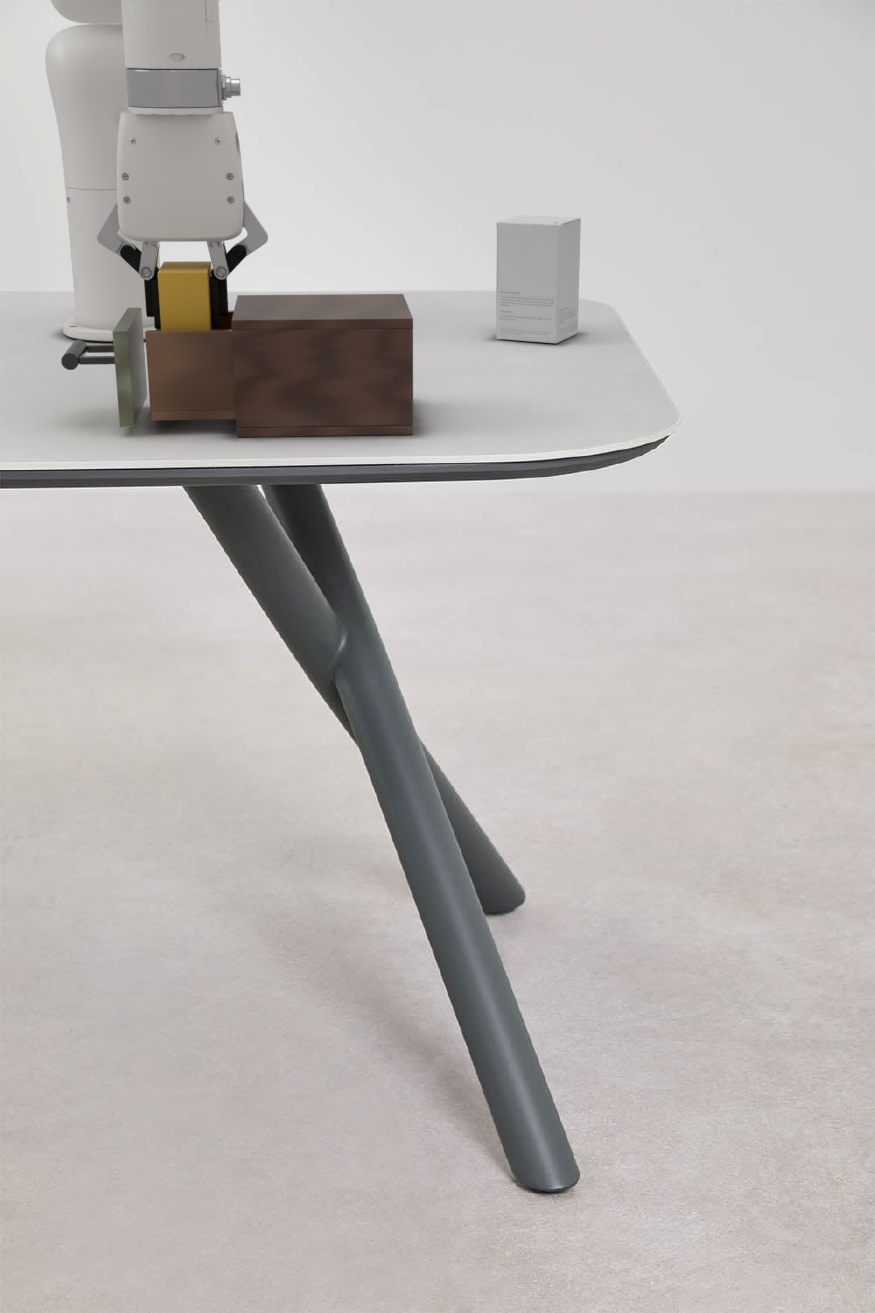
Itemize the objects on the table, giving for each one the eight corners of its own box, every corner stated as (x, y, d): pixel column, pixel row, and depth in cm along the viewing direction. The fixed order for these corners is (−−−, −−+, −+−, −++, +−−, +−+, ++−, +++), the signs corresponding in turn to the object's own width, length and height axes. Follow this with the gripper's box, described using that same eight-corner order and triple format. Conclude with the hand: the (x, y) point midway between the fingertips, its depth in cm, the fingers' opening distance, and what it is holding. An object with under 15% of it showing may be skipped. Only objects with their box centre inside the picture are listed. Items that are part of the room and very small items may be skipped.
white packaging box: (579, 333, 168) (584, 216, 163) (556, 345, 161) (560, 223, 157) (518, 328, 170) (520, 213, 166) (493, 339, 164) (495, 220, 159)
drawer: (61, 427, 123) (52, 331, 120) (80, 396, 133) (72, 307, 130) (284, 424, 124) (281, 329, 121) (286, 394, 135) (283, 306, 132)
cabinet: (236, 437, 124) (231, 320, 120) (242, 403, 135) (237, 294, 132) (413, 434, 125) (413, 318, 121) (403, 400, 136) (403, 293, 133)
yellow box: (167, 320, 129) (163, 261, 127) (214, 320, 129) (211, 261, 127) (161, 334, 123) (157, 272, 121) (210, 333, 124) (207, 271, 122)
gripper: (281, 92, 123) (288, 316, 130) (74, 91, 122) (93, 318, 129) (280, 96, 116) (287, 333, 123) (61, 95, 115) (81, 334, 122)
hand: (188, 323), depth 126 cm, fingers closed on yellow box, 4 cm apart
